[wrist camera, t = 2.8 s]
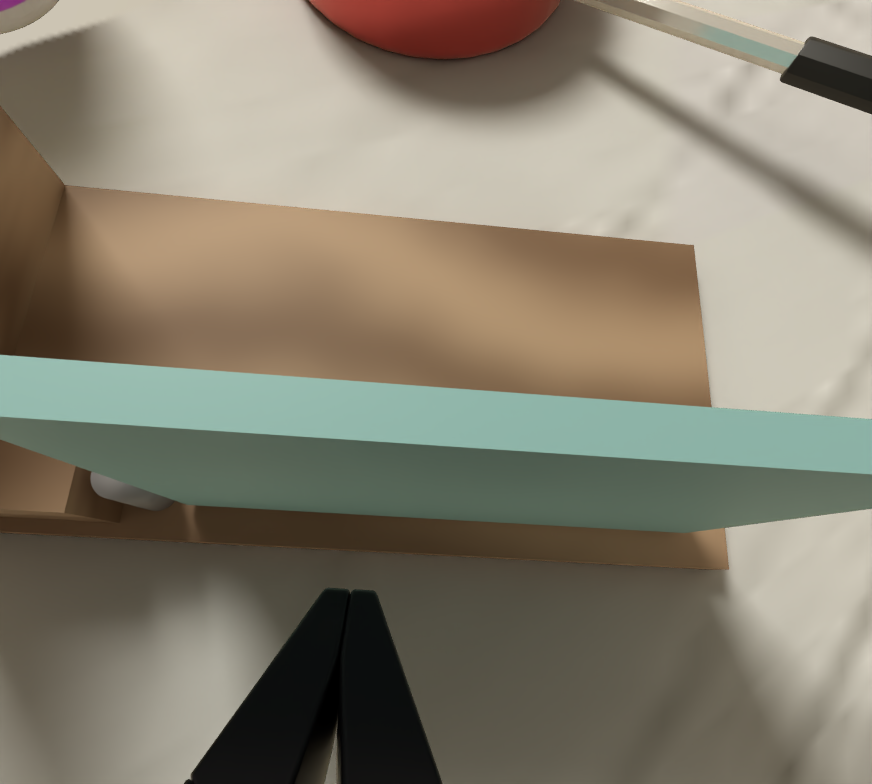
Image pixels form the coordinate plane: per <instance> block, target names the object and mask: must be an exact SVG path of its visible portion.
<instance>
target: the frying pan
mask: <svg viewBox="0 0 872 784" xmlns="http://www.w3.org/2000/svg"><path fill="white" fill-rule="evenodd" d="M309 1H310V2H311V4H312V5H313V6H314V7H315V8H316V9H317V10H319V11H320V12H321V13H322V14H323V15H324V16H325V17H326V18H328V19H329V20H330V21H331V22H332V23H333V24H334V25H336V26H338V27H339V28H341V29H342V30H344V31H346V32H347V33H349V34H351V35H352V36H354V37H355V38H357V39H359V40H362V41H364V42H366V43H369V44H371V45H374V46H376V47H379V48H381V49H383V50H387V51H391V52H395V53H399V54H403V55H407V56H412V57H421V58H432V59H455V58H470V57H474V56H479V55H483V54H487V53H492V52H496V51H498V50H500V49H503V48H505V47H507V46H510V45H512V44H514V43H517V42H519V41H521V40H522V39H524V38H525V37H526V36H528V35H529V34H531V33H532V32H534V31H535V30H536V29H538V28H539V27H540V26H541V25H542V24H543V23H544V22H545V21H546V20H547V19H548V17H549V16H550V15H551V14H552V13H553V12H554V11H555V9H556V8H557V7H558V5H559V3H560V1H561V0H309ZM574 1H577V2H580V3H582V4H585V5H588V6H591V7H594V8H597V9H599V10H602V11H605V12H608V13H611V14H614V15H616V16H619V17H622V18H625V19H628V20H631V21H633V22H636V23H639V24H642V25H645V26H648V27H650V28H653V29H656V30H659V31H662V32H665V33H667V34H670V35H673V36H676V37H679V38H682V39H684V40H687V41H690V42H693V43H696V44H699V45H701V46H704V47H707V48H710V49H713V50H716V51H718V52H721V53H724V54H727V55H730V56H733V57H735V58H738V59H741V60H744V61H747V62H750V63H752V64H755V65H758V66H761V67H764V68H767V69H769V70H772V71H775V72H778V73H781V74H782V75H781V77H780V81H781V82H783V83H785V84H788V85H791V86H794V87H797V88H799V89H802V90H805V91H808V92H811V93H813V94H816V95H819V96H822V97H825V98H828V99H830V100H833V101H836V102H839V103H842V104H844V105H847V106H850V107H853V108H856V109H858V110H861V111H864V112H867V113H870V114H872V56H870V55H867V54H864V53H861V52H858V51H855V50H852V49H849V48H846V47H843V46H840V45H837V44H834V43H831V42H828V41H825V40H822V39H819V38H816V37H809V38H808V39H807V40H806V41H805V42H802V41H799V40H796V39H793V38H790V37H787V36H784V35H781V34H778V33H775V32H772V31H769V30H766V29H763V28H760V27H757V26H754V25H751V24H748V23H745V22H742V21H739V20H736V19H733V18H730V17H727V16H724V15H721V14H718V13H715V12H712V11H709V10H706V9H703V8H700V7H697V6H694V5H691V4H688V3H685V2H682V1H679V0H574Z"/></svg>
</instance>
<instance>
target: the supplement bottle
mask: <svg viewBox="0 0 872 784" xmlns="http://www.w3.org/2000/svg"><path fill="white" fill-rule="evenodd" d="M58 1H59V0H0V34H3V33H7V32H11V31H14V30H17V29H20V28H23V27H25V26H27V25H29V24H31V23H33V22H35V21H36V20H38V19H40V18H41V17H42V16H44V15H45V14H46V13H47V12H48V11H49V10H51V9H52V8H53V7H54V5H55V4H56V3H57V2H58Z"/></svg>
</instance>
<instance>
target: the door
mask: <svg viewBox="0 0 872 784" xmlns="http://www.w3.org/2000/svg"><path fill="white" fill-rule="evenodd" d="M0 440H3V441H6V442H9V443H12V444H14V445H17V446H20V447H23V448H26V449H29V450H32V451H35V452H37V453H40V454H43V455H46V456H49V457H52V458H55V459H57V460H60V461H63V462H66V463H69V464H72V465H75V466H77V467H80V468H83V469H86V470H89V471H92V472H91V485H92V488H93V489H94V491H95V492H96V493H97V494H98V495H99V496H101V497H103V498H106V499H110V500H114V501H118V502H121V503H125V504H129V505H132V506H136V507H140V508H144V509H147V510H151V511H160V510H164V509H166V508H168V507H169V506H171V505H172V504H173V503H174V502H175V501H178V502H180V503H183V504H186V505H198V506H216V507H233V508H251V509H269V510H286V511H304V512H321V513H339V514H357V515H374V516H392V517H410V518H427V519H445V520H463V521H480V522H498V523H516V524H533V525H551V526H568V527H586V528H604V529H621V530H639V531H657V532H674V533H689V532H697V531H704V530H712V529H720V528H727V527H735V526H743V525H750V524H758V523H766V522H773V521H781V520H788V519H796V518H804V517H811V516H819V515H827V514H834V513H842V512H850V511H857V510H865V509H872V419H862V418H848V417H835V416H821V415H808V414H794V413H781V412H767V411H754V410H740V409H727V408H713V407H699V406H686V405H672V404H659V403H645V402H632V401H618V400H605V399H591V398H578V397H564V396H551V395H537V394H523V393H510V392H496V391H483V390H469V389H456V388H442V387H429V386H415V385H402V384H388V383H375V382H361V381H348V380H334V379H320V378H307V377H293V376H280V375H266V374H253V373H239V372H226V371H212V370H199V369H185V368H172V367H158V366H144V365H131V364H117V363H104V362H90V361H77V360H63V359H50V358H36V357H23V356H9V355H0Z"/></svg>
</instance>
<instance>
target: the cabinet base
mask: <svg viewBox="0 0 872 784" xmlns="http://www.w3.org/2000/svg"><path fill="white" fill-rule="evenodd" d="M0 355H9V356H23V357H36V358H50V359H63V360H77V361H90V362H104V363H117V364H131V365H144V366H158V367H172V368H185V369H199V370H212V371H226V372H239V373H253V374H266V375H280V376H293V377H307V378H320V379H334V380H348V381H361V382H375V383H388V384H402V385H415V386H429V387H442V388H456V389H469V390H483V391H496V392H510V393H523V394H537V395H551V396H564V397H578V398H591V399H605V400H618V401H632V402H645V403H659V404H672V405H686V406H699V407H711V399H710V390H709V381H708V372H707V363H706V353H705V344H704V335H703V326H702V317H701V308H700V298H699V289H698V280H697V271H696V262H695V252H694V245H685V244H675V243H664V242H654V241H643V240H633V239H622V238H612V237H601V236H591V235H580V234H570V233H560V232H549V231H539V230H528V229H518V228H507V227H497V226H486V225H476V224H465V223H455V222H444V221H434V220H423V219H413V218H402V217H392V216H382V215H371V214H361V213H350V212H340V211H329V210H319V209H308V208H298V207H287V206H277V205H266V204H256V203H245V202H235V201H225V200H214V199H204V198H193V197H183V196H172V195H162V194H151V193H141V192H130V191H120V190H109V189H99V188H88V187H78V186H68V185H64V183H63V182H62V181H61V180H60V178H59V177H58V176H57V175H56V174H55V172H54V171H53V170H52V169H51V167H50V166H49V165H48V164H47V163H46V161H45V160H44V159H43V158H42V156H41V155H40V154H39V153H38V151H37V150H36V149H35V148H34V147H33V145H32V144H31V143H30V142H29V140H28V139H27V138H26V137H25V136H24V134H23V133H22V132H21V131H20V129H19V128H18V127H17V126H16V125H15V123H14V122H13V121H12V120H11V118H10V117H9V116H8V115H7V114H6V112H5V111H4V110H3V109H2V107H1V106H0ZM91 472H92V471H89V470H86V469H83V468H80V467H77V466H75V465H72V464H69V463H66V462H63V461H60V460H57V459H55V458H52V457H49V456H46V455H43V454H40V453H37V452H35V451H32V450H29V449H26V448H23V447H20V446H17V445H14V444H12V443H9V442H6V441H3V440H0V533H18V534H37V535H56V536H75V537H94V538H114V539H133V540H152V541H171V542H191V543H210V544H229V545H248V546H268V547H287V548H306V549H325V550H345V551H364V552H383V553H402V554H422V555H441V556H460V557H479V558H499V559H518V560H537V561H556V562H576V563H595V564H614V565H633V566H653V567H672V568H691V569H710V570H716V569H729V565H728V556H727V546H726V537H725V528H720V529H712V530H704V531H697V532H689V533H674V532H657V531H639V530H621V529H604V528H586V527H568V526H551V525H533V524H516V523H498V522H480V521H463V520H445V519H427V518H410V517H392V516H374V515H357V514H339V513H321V512H304V511H286V510H269V509H251V508H233V507H216V506H198V505H186V504H183V503H180V502H178V501H175V502H174V503H173V504H172V505H171V506H169V507H168V508H166V509H164V510H160V511H151V510H147V509H144V508H140V507H136V506H132V505H129V504H125V503H121V502H118V501H114V500H110V499H106V498H103V497H101V496H99V495H98V494H97V493H96V492H95V491H94V489H93V488H92V485H91Z"/></svg>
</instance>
